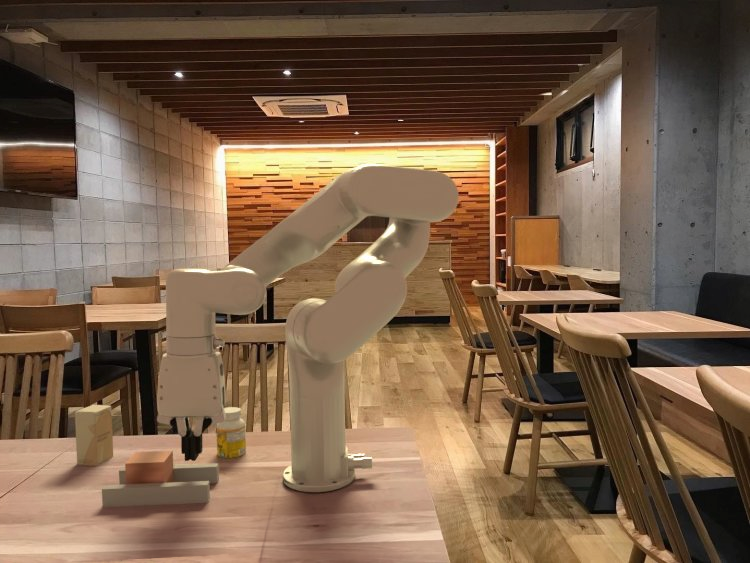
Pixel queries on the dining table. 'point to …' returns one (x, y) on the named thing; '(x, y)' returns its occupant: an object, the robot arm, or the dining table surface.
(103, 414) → the box
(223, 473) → the dining table surface
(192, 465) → the chute
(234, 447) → the supplement bottle
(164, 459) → the block
